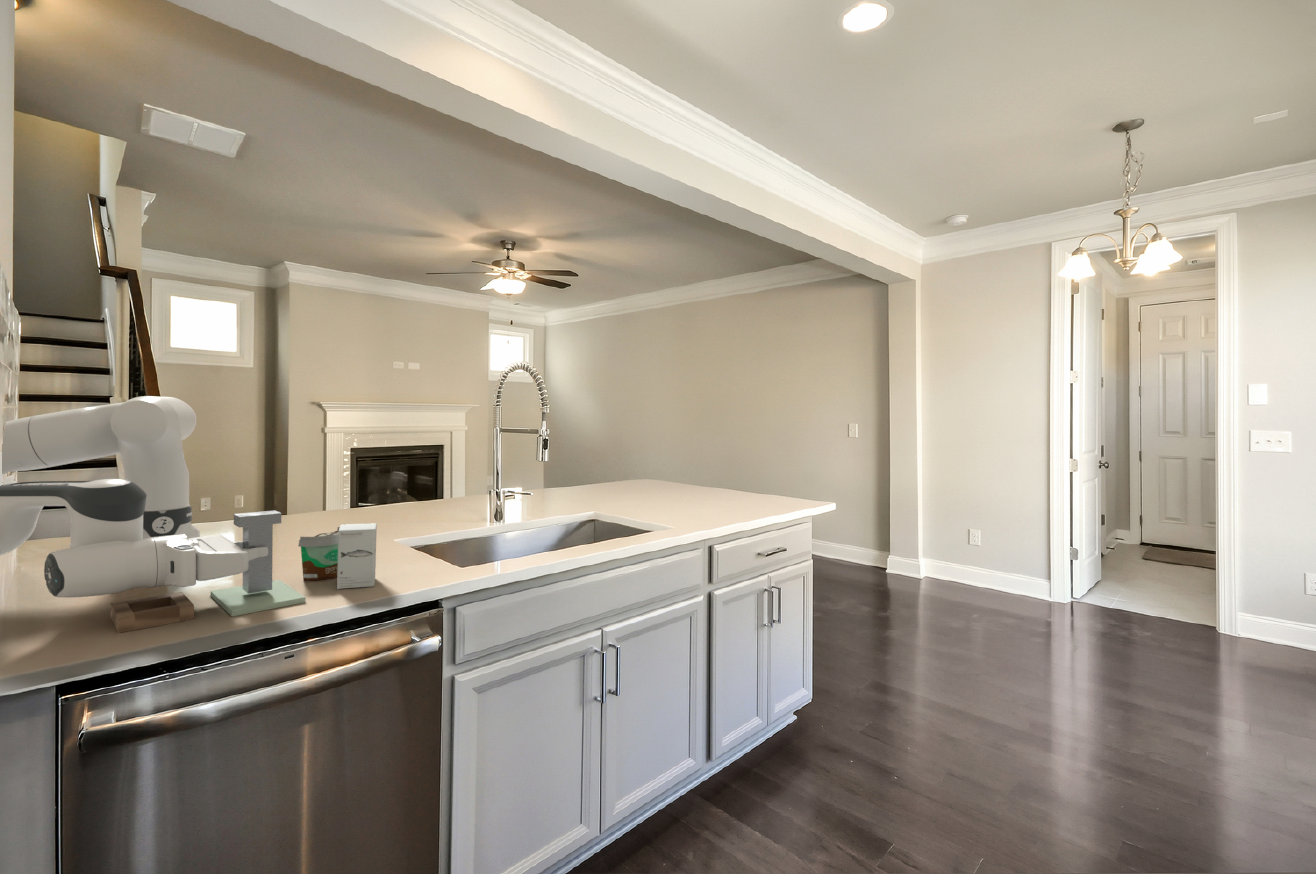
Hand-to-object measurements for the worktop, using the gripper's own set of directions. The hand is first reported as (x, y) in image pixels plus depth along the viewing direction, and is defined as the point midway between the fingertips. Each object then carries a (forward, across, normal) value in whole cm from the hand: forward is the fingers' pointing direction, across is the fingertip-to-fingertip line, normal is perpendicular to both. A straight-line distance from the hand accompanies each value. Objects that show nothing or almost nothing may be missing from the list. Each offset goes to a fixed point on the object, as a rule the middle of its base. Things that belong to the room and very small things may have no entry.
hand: (262, 548), depth 119 cm
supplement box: (+17, +2, -10) cm, 20 cm away
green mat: (-1, 0, -10) cm, 10 cm away
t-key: (-1, 0, -8) cm, 8 cm away
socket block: (-17, 0, -10) cm, 20 cm away
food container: (+15, -7, -10) cm, 20 cm away
